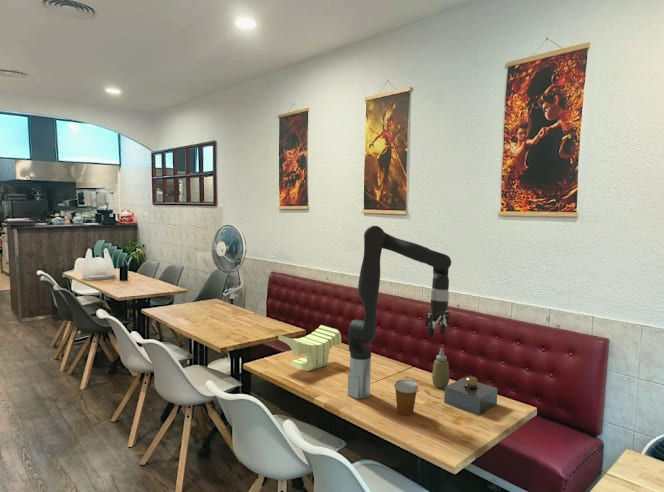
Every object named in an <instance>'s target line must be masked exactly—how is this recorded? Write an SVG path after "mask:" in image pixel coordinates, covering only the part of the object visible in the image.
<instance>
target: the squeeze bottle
mask: <svg viewBox="0 0 664 492" xmlns="http://www.w3.org/2000/svg"><path fill="white" fill-rule="evenodd" d="M435 358H436V359H435V360H434V361H433V367H432V374H431V379H432V383H433V386H434V387H435V388H438V389H445V387H446V386H448V385H449V382H450V369H449V366H450V365H449V361H448V360H447V356H446V355H445V353H444V348H440V349H439V354H438V355H436V357H435Z"/></svg>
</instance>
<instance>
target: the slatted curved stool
mask: <svg viewBox="0 0 664 492" xmlns="http://www.w3.org/2000/svg"><path fill="white" fill-rule="evenodd" d="M277 340H279V341H281V342H283V343H285V344H286V345H288V346H289V347H290V350H291V352H292V355H293V356H296V357H300V356H301V355H304V354H305V355H304V357H301V358H297V359H294V360H291V363H290V365H291V366H292V367H295V368H297V369H300V370H303V371H306V372H309V371H312V370H313V371H314V370H316V369H319V368H322V367H325V366H327V365H328V362H329V355H330V351H331V349H332V348H333V347H334V346H337V345H340V346H341V345H342V334H341V332H340V331H339V330H338V329H337V328H332V327H330V326H326V325H322V324H320V325H319V326H318V328H316V329H315V330H314V331H312V332H311V333H309V334H308V335H305V336H303V337H299V338H290V337H288V336H284V335H281V334H278V338H277Z"/></svg>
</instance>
